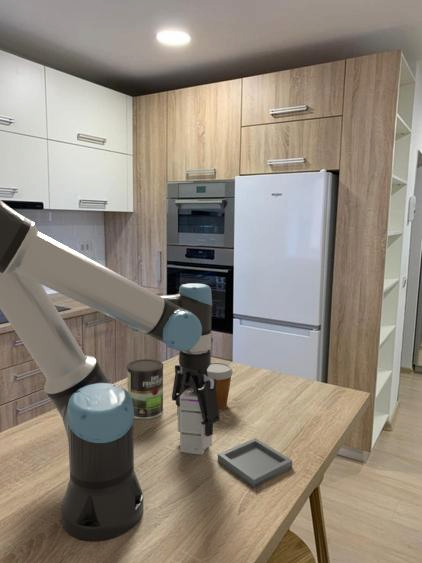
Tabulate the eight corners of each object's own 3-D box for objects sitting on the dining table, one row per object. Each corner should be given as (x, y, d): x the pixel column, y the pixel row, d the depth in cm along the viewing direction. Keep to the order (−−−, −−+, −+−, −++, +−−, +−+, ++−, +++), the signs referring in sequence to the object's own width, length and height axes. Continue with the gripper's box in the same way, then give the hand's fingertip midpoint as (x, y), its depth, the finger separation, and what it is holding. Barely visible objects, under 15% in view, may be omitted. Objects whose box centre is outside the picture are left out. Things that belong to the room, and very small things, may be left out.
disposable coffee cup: (226, 415, 120) (227, 375, 118) (195, 409, 123) (196, 370, 121) (235, 401, 129) (236, 364, 127) (206, 396, 132) (207, 360, 130)
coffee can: (170, 412, 121) (170, 365, 119) (139, 423, 114) (139, 374, 112) (150, 400, 129) (150, 356, 126) (120, 410, 122) (120, 363, 120)
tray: (253, 487, 88) (253, 479, 87) (217, 461, 97) (217, 454, 97) (292, 467, 95) (292, 460, 95) (255, 444, 104) (255, 438, 104)
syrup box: (203, 455, 99) (204, 397, 97) (179, 452, 100) (179, 395, 98) (208, 443, 105) (209, 388, 103) (185, 440, 106) (185, 385, 104)
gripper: (237, 358, 93) (235, 453, 96) (182, 336, 110) (181, 416, 113) (210, 365, 88) (209, 464, 92) (157, 340, 105) (157, 425, 108)
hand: (194, 438), depth 102 cm, fingers open, 9 cm apart
